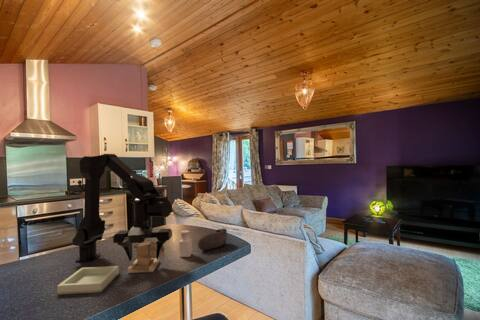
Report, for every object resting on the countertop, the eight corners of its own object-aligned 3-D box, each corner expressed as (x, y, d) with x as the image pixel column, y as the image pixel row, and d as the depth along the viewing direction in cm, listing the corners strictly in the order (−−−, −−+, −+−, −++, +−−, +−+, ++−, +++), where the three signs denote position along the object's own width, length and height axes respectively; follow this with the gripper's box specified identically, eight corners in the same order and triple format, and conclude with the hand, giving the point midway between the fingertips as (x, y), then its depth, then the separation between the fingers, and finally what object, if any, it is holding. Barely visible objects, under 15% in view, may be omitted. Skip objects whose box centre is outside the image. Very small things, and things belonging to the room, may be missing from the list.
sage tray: (82, 275, 83) (81, 267, 83) (119, 273, 83) (118, 265, 83) (57, 294, 71) (57, 285, 71) (101, 292, 71) (100, 283, 71)
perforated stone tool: (201, 254, 99) (201, 236, 99) (194, 250, 103) (194, 233, 103) (231, 245, 109) (230, 229, 109) (223, 242, 112) (223, 226, 112)
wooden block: (141, 265, 89) (140, 243, 89) (151, 264, 89) (150, 242, 89) (137, 269, 86) (136, 246, 86) (148, 269, 86) (147, 246, 86)
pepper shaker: (182, 253, 99) (182, 229, 99) (192, 253, 99) (191, 229, 99) (179, 257, 95) (178, 232, 96) (189, 257, 95) (188, 232, 95)
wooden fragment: (131, 244, 113) (131, 242, 113) (156, 240, 119) (156, 237, 119) (144, 263, 92) (144, 260, 92) (173, 256, 98) (173, 254, 98)
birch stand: (136, 263, 91) (136, 258, 91) (159, 261, 92) (159, 257, 92) (128, 272, 83) (128, 268, 83) (152, 271, 84) (152, 267, 84)
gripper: (104, 222, 79) (105, 271, 79) (164, 219, 80) (165, 268, 80) (119, 214, 90) (120, 257, 90) (171, 212, 91) (173, 255, 91)
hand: (144, 259), depth 88 cm, fingers open, 9 cm apart
